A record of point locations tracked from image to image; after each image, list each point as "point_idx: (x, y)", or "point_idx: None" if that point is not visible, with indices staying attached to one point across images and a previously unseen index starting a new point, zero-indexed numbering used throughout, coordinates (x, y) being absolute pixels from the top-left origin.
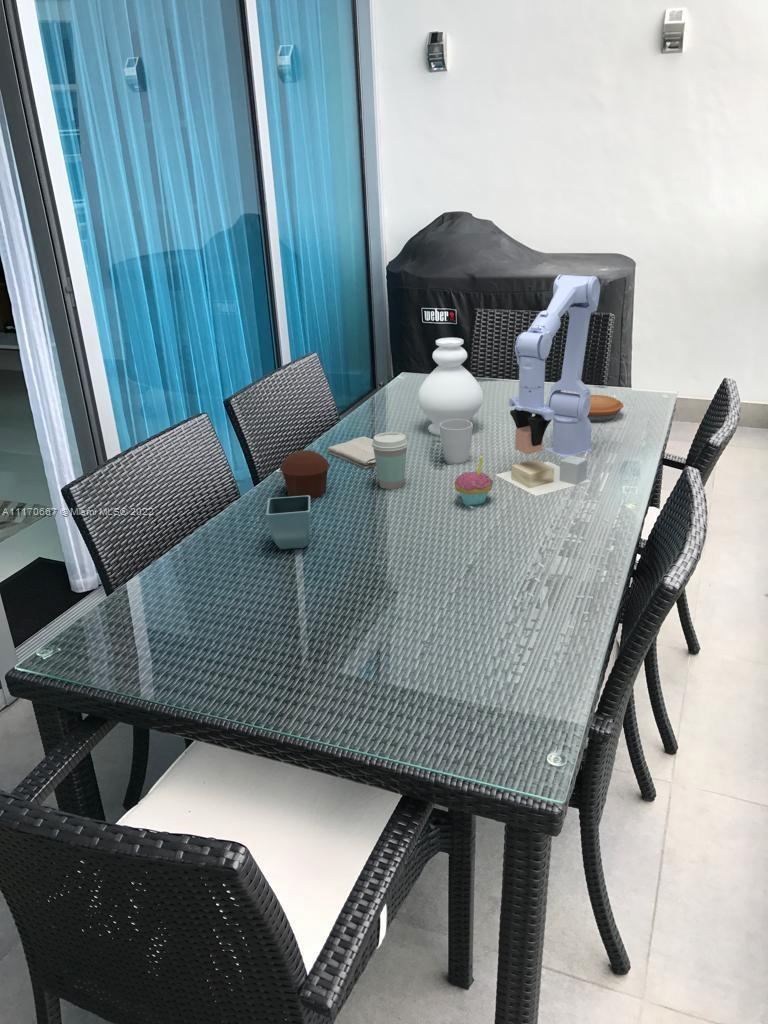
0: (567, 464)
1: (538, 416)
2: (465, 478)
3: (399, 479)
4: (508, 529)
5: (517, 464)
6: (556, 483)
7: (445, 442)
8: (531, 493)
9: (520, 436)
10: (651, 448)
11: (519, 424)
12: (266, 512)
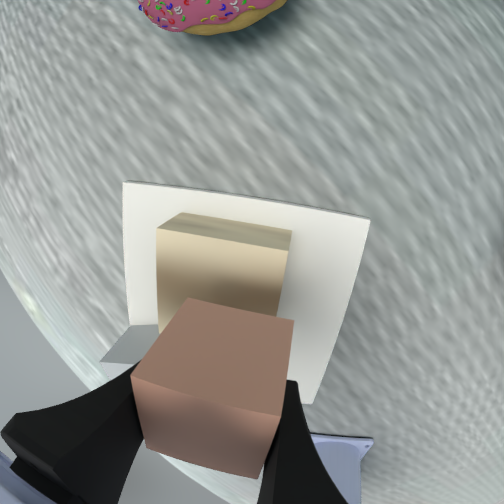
0: (128, 358)
1: (33, 477)
2: None
3: None
4: (58, 12)
5: (276, 276)
6: None
7: None
8: (145, 184)
9: (222, 370)
10: (223, 495)
11: (275, 459)
12: None
